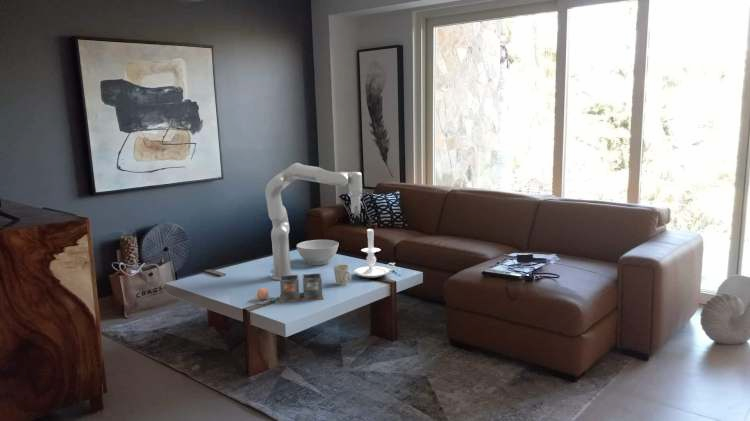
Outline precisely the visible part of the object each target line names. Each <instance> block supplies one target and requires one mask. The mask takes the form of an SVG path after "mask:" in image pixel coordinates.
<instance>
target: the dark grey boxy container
mask: <svg viewBox="0 0 750 421" xmlns="http://www.w3.org/2000/svg"><path fill="white" fill-rule="evenodd" d="M321 274H322V273H318V272H317V273H306V274H305V273H304V274H302V287H303V292H300V284H299V283H300V279H299V274H293V275H288V276H280V280H279V282H280V283H279V284H280V294H279V302H280V303H288V302H289V303H292V302H302V301H303V302H304V301H318V300H320V301H321V300H324V294H323V286H322V285H323V284H322V280H323V279H322V275H321Z"/></svg>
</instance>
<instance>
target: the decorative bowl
mask: <svg viewBox="0 0 750 421" xmlns="http://www.w3.org/2000/svg"><path fill="white" fill-rule="evenodd" d="M338 248H339V242H338V241H336V240H332V239H313V240H312V239H311V240H305V241H301V242H299V243H297V244H296V250H297V252H298V254H299V255H300V257H301V258H302V259H303V260H305V261H306V262H308V264H309V265H312V266H320V265H323V266H324V265H326V264H328V263H329V261H330V260H332V259H333V257H335V255H336V254H337V251H338Z"/></svg>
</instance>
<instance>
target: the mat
mask: <svg viewBox="0 0 750 421" xmlns="http://www.w3.org/2000/svg"><path fill="white" fill-rule="evenodd" d="M268 300H270V301H272V302H275V301H277V300H279V298H277V297H272V296H269V295H268V297H267V298H266V299H264V300H260V299H258V297H257V296H256V297H254V298H251V299H249V300H247V302H248V303H253V304H256V305H259V304H258V303H261V302H264V301H268Z"/></svg>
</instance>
